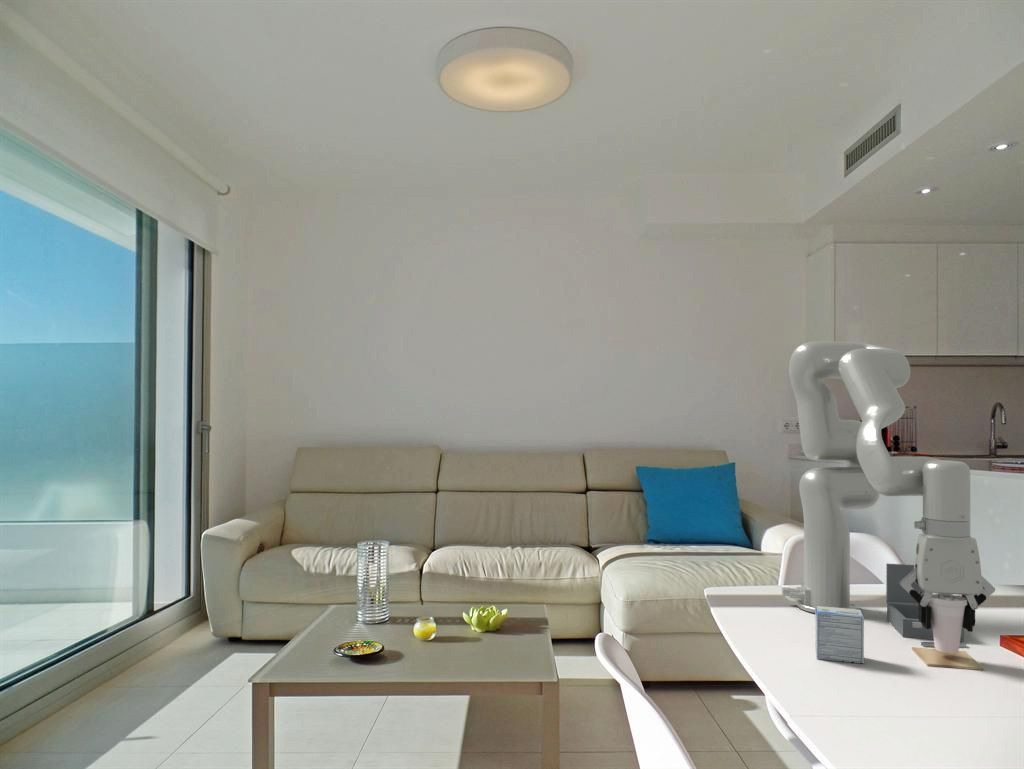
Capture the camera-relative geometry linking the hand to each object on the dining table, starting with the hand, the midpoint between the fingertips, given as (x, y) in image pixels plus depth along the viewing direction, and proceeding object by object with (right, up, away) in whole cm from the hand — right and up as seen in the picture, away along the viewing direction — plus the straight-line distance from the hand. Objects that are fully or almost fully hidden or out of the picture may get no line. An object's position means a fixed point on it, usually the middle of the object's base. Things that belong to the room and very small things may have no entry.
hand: (946, 627), depth 137 cm
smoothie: (0, -4, 0) cm, 4 cm away
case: (+5, -6, +17) cm, 19 cm away
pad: (0, -6, 0) cm, 6 cm away
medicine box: (-19, -6, 0) cm, 20 cm away
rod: (+4, -6, +7) cm, 10 cm away
